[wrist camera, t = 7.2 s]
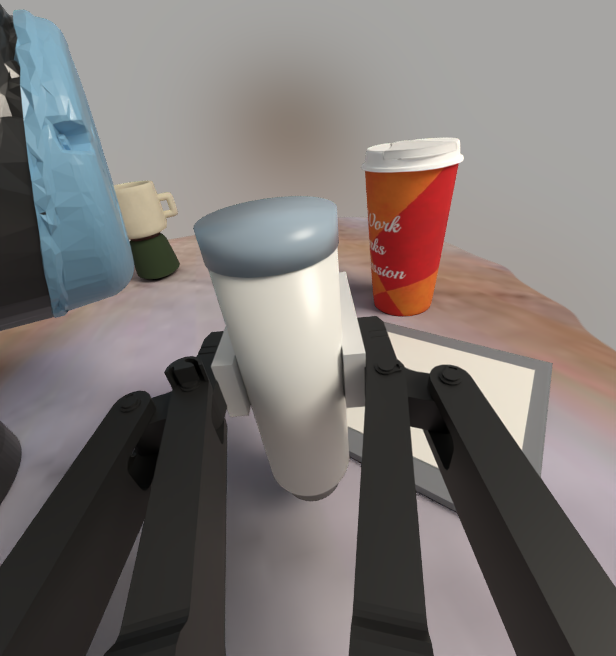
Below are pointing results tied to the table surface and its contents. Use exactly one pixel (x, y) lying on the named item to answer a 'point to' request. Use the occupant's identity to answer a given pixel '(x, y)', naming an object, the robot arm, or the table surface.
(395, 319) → the table surface
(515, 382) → the writing board
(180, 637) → the robot arm
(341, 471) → the thick grey marker
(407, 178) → the coffee cup
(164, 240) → the character mug
